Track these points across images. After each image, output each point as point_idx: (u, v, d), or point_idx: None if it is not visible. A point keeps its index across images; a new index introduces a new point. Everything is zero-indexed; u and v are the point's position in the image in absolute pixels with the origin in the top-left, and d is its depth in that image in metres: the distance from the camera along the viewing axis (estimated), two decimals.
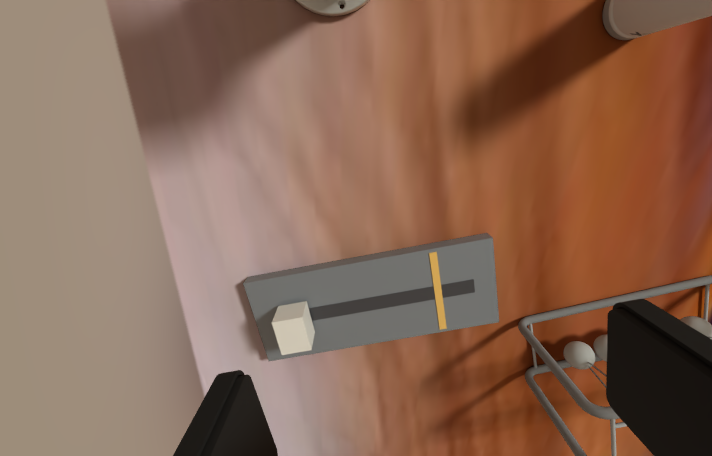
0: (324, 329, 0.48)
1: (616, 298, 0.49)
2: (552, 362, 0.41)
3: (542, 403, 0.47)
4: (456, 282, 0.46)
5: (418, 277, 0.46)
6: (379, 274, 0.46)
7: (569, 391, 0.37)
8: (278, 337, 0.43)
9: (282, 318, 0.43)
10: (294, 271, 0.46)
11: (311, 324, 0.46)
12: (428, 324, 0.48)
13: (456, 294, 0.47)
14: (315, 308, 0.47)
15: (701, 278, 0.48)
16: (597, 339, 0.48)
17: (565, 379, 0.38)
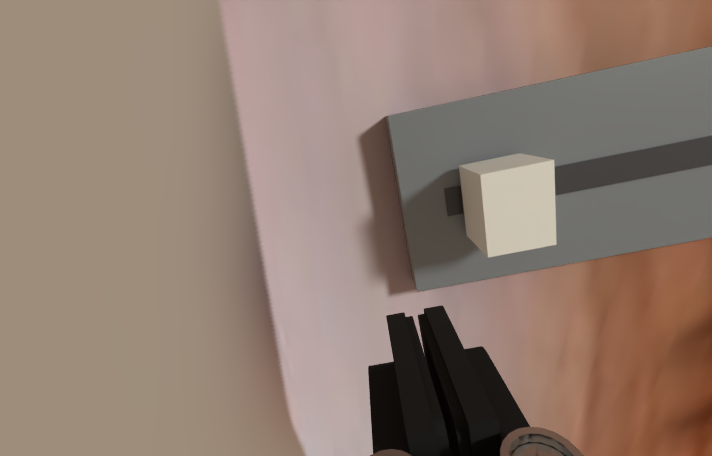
0: None
1: None
2: None
3: None
4: None
5: None
6: (679, 91, 0.21)
7: None
8: (488, 213, 0.19)
9: (501, 168, 0.19)
10: None
11: None
12: None
13: None
14: None
15: None
16: None
17: None
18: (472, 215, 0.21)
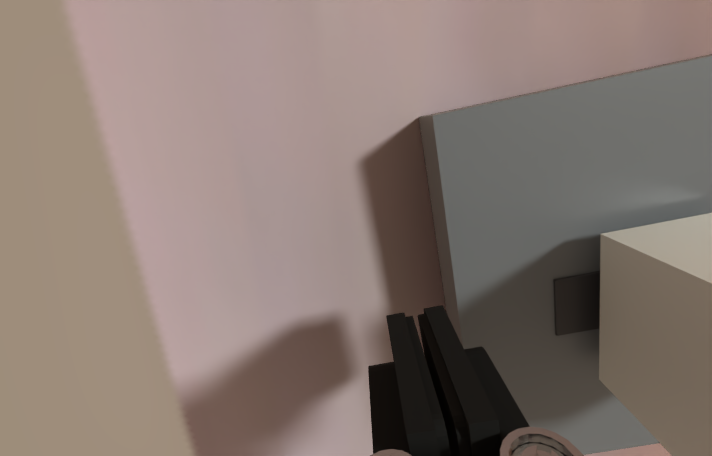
0: None
1: None
2: None
3: None
4: None
5: None
6: None
7: None
8: None
9: None
10: (679, 61, 0.09)
11: None
12: None
13: None
14: None
15: None
16: None
17: None
18: (653, 369, 0.08)
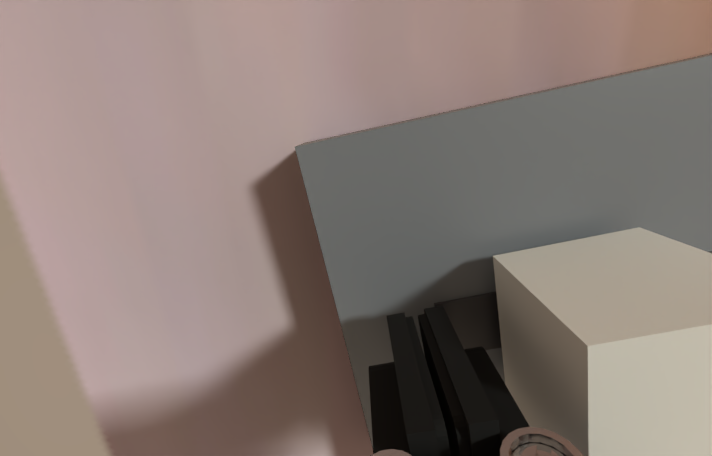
0: None
1: None
2: None
3: None
4: None
5: None
6: None
7: None
8: (603, 445, 0.06)
9: (646, 315, 0.06)
10: (542, 91, 0.09)
11: None
12: None
13: None
14: None
15: None
16: None
17: None
18: (532, 391, 0.08)
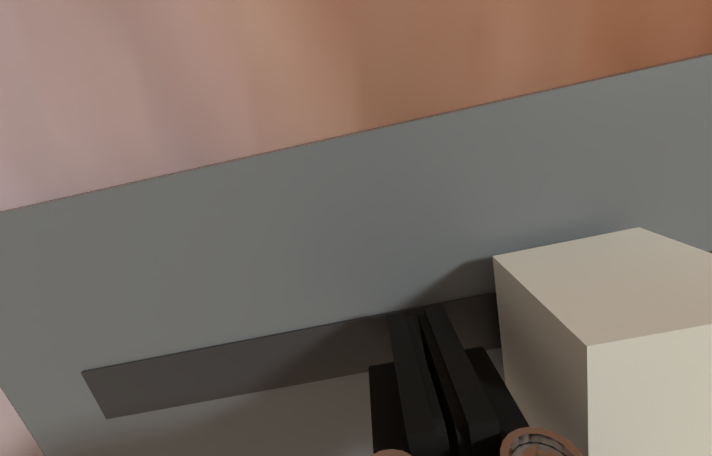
0: (295, 424, 0.12)
1: None
2: None
3: None
4: None
5: None
6: (550, 177, 0.09)
7: None
8: (603, 446, 0.06)
9: (646, 315, 0.06)
10: None
11: None
12: None
13: None
14: (251, 343, 0.11)
15: None
16: None
17: None
18: (532, 391, 0.08)
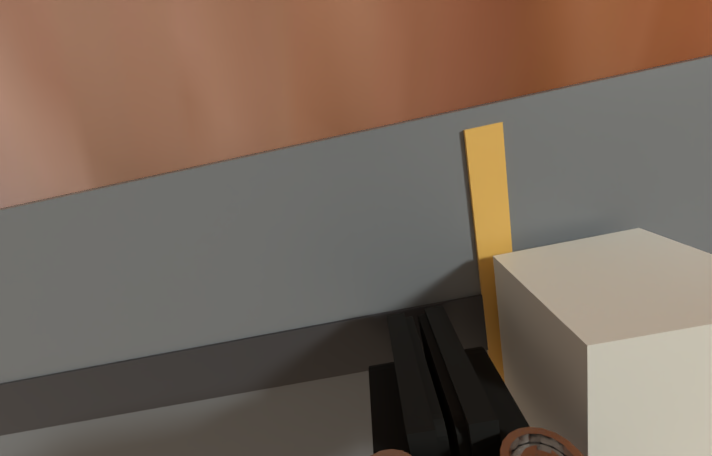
0: None
1: None
2: None
3: None
4: None
5: (413, 254, 0.10)
6: (233, 241, 0.10)
7: None
8: (603, 445, 0.06)
9: (646, 315, 0.06)
10: None
11: None
12: None
13: None
14: None
15: None
16: None
17: None
18: (532, 391, 0.08)
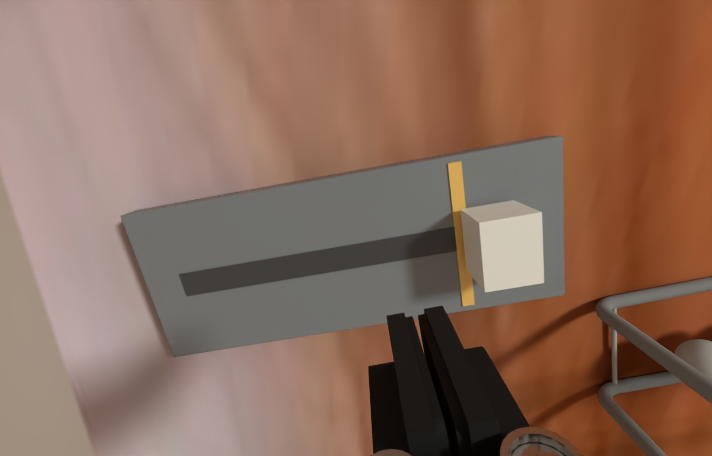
0: (265, 302, 0.28)
1: None
2: (693, 371, 0.21)
3: (643, 446, 0.27)
4: None
5: (427, 209, 0.26)
6: (359, 202, 0.26)
7: None
8: (486, 255, 0.22)
9: (497, 217, 0.22)
10: (211, 198, 0.27)
11: None
12: (443, 296, 0.28)
13: None
14: (248, 264, 0.27)
15: None
16: None
17: None
18: (472, 254, 0.24)
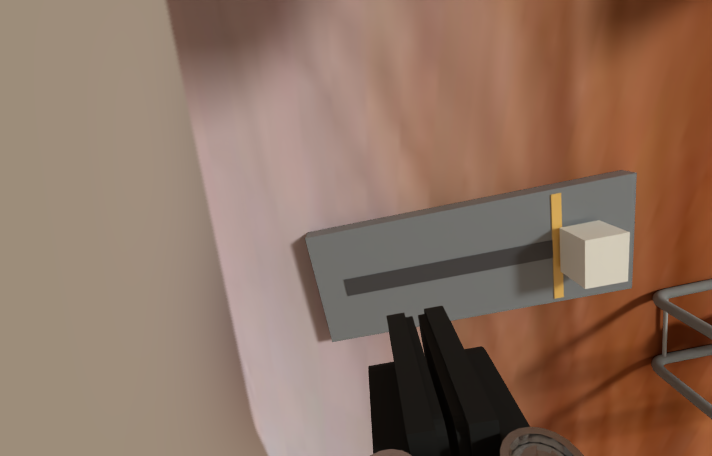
0: (406, 298, 0.38)
1: None
2: None
3: (693, 399, 0.36)
4: None
5: (533, 228, 0.35)
6: (483, 224, 0.35)
7: None
8: (588, 262, 0.31)
9: (596, 236, 0.31)
10: (370, 223, 0.36)
11: None
12: (540, 291, 0.37)
13: None
14: (396, 271, 0.37)
15: None
16: None
17: None
18: (571, 261, 0.34)
